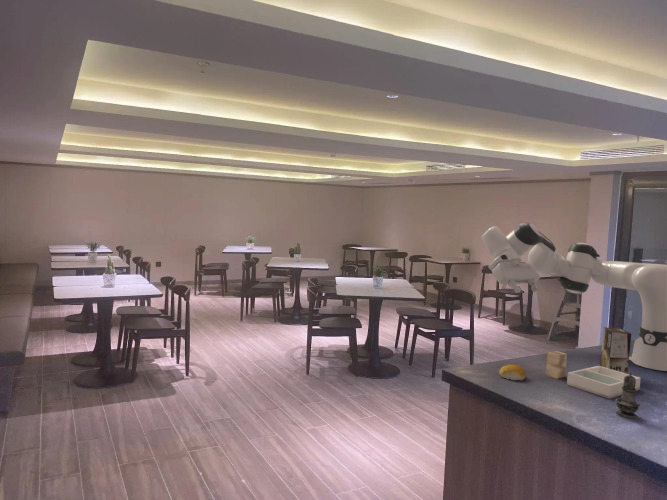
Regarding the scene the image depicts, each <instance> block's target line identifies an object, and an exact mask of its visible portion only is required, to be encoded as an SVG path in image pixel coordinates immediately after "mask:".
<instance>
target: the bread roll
mask: <svg viewBox="0 0 667 500" xmlns="http://www.w3.org/2000/svg"><path fill="white" fill-rule="evenodd" d="M499 375H500V376H501V377H502V378H504V379H505V378H506V380H509V379H511V380H510V381H515V380H520V381H523V380H524V379H526V371H525V370H524V368H522V367H521V366H519V365H517V364H507V365H504V366H502V367H501V368H500V369H499Z"/></svg>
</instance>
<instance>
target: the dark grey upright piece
mask: <svg viewBox="0 0 667 500" xmlns="http://www.w3.org/2000/svg"><path fill="white" fill-rule="evenodd" d="M628 374H629V375H628V376H625V377H624V384H623V387H622V389H623V391H622V395H620V398H619V397H618V398H616V399H615V403H616V406H617V408H618V410H616V411H615V414H616V415H617V416H619V417H622V418H626V419H630V420H631V419H634V420H635V419H638V415H637V414H636V412H637V411H638V410H639V407H640V406H641V404H640V403H639V402H637V401H636V392H637V391H638V390H636V389H635V384H636V379H635V378H634V377H633V376H634V375H633V374H632V372H629V373H628ZM631 375H633V376H631Z"/></svg>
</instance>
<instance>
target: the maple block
mask: <svg viewBox="0 0 667 500" xmlns="http://www.w3.org/2000/svg"><path fill="white" fill-rule="evenodd" d="M546 355H547V356H546V365H545V366H546V367H545V368H546V369H545V376H547V377H549V378H552V379H561V378H562V379H563V378H565V377H566V369H567V361H568V360H567V358H568V356H567V355H568V354H567V353H565V352H561V351H558V350H555V351H554V350H553V351H548V352H547V354H546Z"/></svg>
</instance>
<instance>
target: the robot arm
mask: <svg viewBox="0 0 667 500" xmlns="http://www.w3.org/2000/svg"><path fill="white" fill-rule="evenodd" d="M480 237H481V241H482V243H483V246H484V248H486V250H487V252H488V254H489V255H490V256H492V258H493V259H492V262H490V264H489V265H488V266H487V267H488V269H489V270H490V271H491V273H492V275H493V277H494V278H495V280H496V281H497V282H498V283H499V284H501V285H508V287H510V288H511V289H512V290H513V291H514V292H515V293H516V294H517V293H519V294H520V293H521V292H522V288H521V287H520V286H519V284H522V285H524V284H525V285H527V284H528V285H529V286H531V288H530V290H531V291H532V292H533V293H537V292H538V291H539V287H538V286H537V282H538V281H539V280H541V277H540V274H539V273H541V274H546V275H554V276H558V278H557V281H558V282H559V283H560V285H561V287H562V288H563V289H564V290H565V291H568V292H570V293H572V294H583V293H586V292H587V291H588V289H589V287H590V285H589V283H590V281H591V279H592V280H593V282H595V283H596V284H599V285H602V286H605V287H611V288H617V289H624V290H629V291H631V290H632V291H637V292H638V294H639V297H640V301H641V307H642V312H641V313H642V315H641V325H640V327H639V330H638V336H639V337H637V339H635V340H634V343H633V349H632V354H631V355H629V361H631V362H632V363H633V364H635V365H637V366H639V367H643V368H646V369H649V370H656V371H662V372H667V264H659V263H648V262H647V263H644V262H632V261H618V260H608V261H607V260H600V259H598V258H601V255H600V254H598V252H597V250H596V249H595V247H594V246H592V245H590V244H588V243H585V242H577V243H572V244H571V245H569V248H568V250H567V255H566V258H565V257H564V255H562V254H561V253H559V252H558V251H557V250H556V246H555V244H554V243H553V242H552V241H551V240H550V239H549V237H547V236H546V235H544V234H543V233H542V232H541V231H539V229H538V228H537V227H536V226H535V225H534V224H532V223H531V222H520V223H519V224H518V225H517V226H516V227H515V228H514V229H513V230H512V231H511V232H510V233H508V234H507V235H505V234H504V232H503V231H502V229H500V228H499V227H498V226H496V225H495V226H491V227H488V228H487V229H486V230H485V231H484V232H483V233H482V235H481V236H480ZM528 251H529V253H528V255H527V261H528V263H527V262H526V261H522V256H523V255H525V253H527V252H528ZM517 284H518V285H517Z"/></svg>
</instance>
